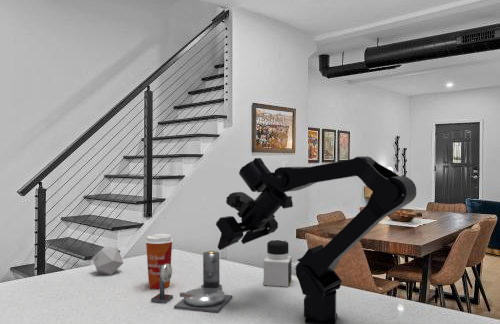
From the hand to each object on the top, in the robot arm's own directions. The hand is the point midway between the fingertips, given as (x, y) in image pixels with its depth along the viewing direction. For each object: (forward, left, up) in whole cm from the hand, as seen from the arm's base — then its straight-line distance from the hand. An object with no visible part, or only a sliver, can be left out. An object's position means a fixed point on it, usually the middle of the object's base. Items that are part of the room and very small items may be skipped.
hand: (231, 245), depth 110 cm
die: (+44, -10, -13) cm, 47 cm away
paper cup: (+22, -2, -13) cm, 25 cm away
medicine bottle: (-9, -14, -13) cm, 21 cm away
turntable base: (+5, +7, -13) cm, 15 cm away
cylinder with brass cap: (+7, -3, -13) cm, 15 cm away
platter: (+5, +7, -12) cm, 15 cm away
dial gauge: (+16, +8, -13) cm, 22 cm away
